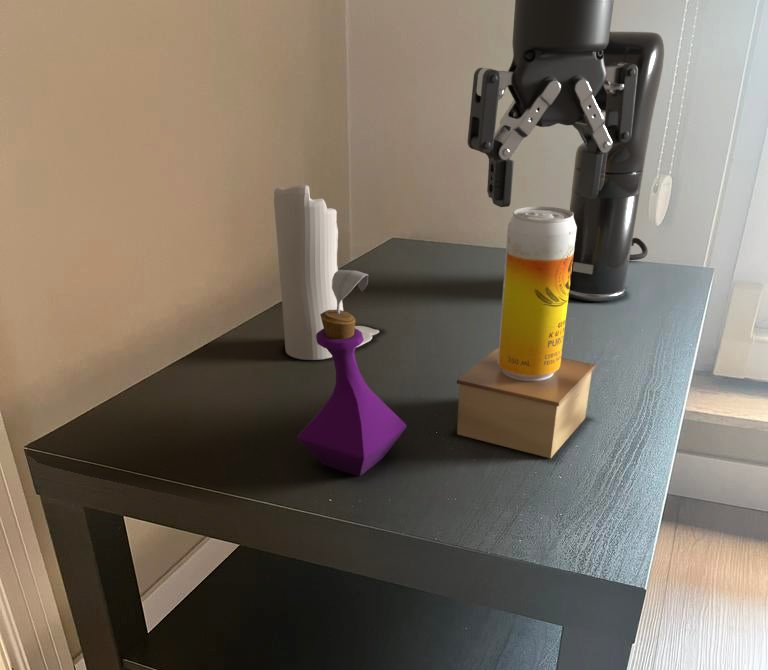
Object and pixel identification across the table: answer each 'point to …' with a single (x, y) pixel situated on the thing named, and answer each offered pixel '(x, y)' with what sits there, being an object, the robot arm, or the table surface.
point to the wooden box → (523, 406)
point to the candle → (307, 269)
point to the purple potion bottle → (349, 396)
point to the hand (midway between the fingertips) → (544, 201)
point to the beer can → (535, 291)
